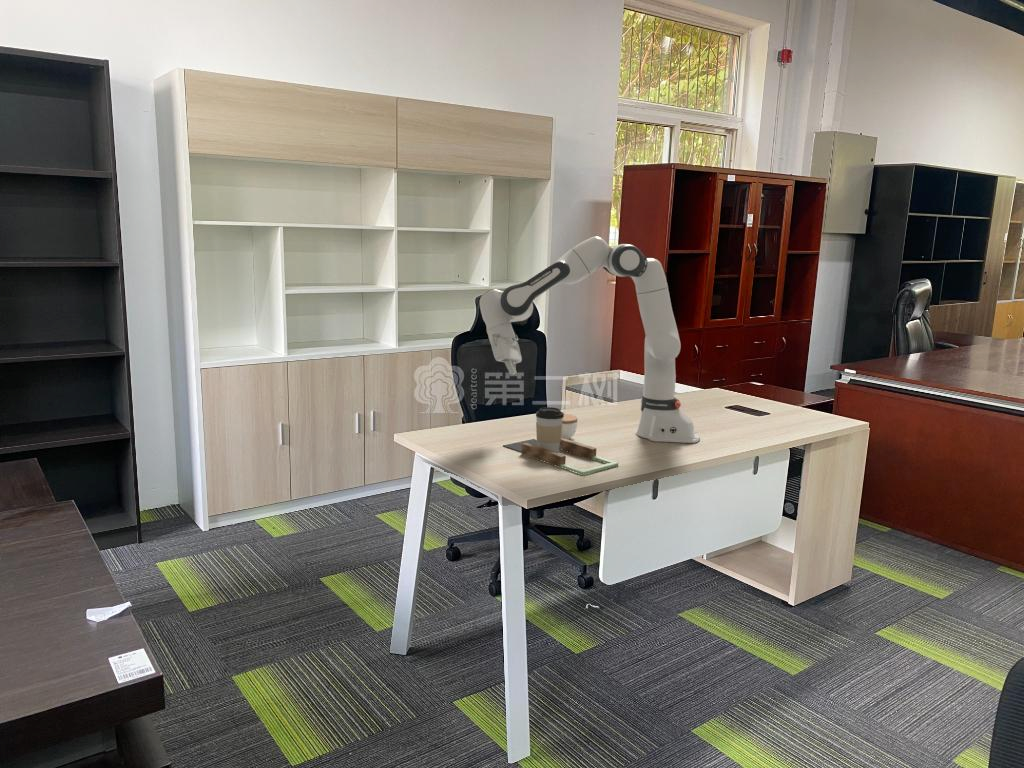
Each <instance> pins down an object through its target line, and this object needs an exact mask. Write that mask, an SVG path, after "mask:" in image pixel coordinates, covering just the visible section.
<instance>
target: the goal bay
mask: <svg viewBox="0 0 1024 768" xmlns="http://www.w3.org/2000/svg"><path fill="white" fill-rule="evenodd" d="M593 459H595V460H594V461H596V460H598V461H597V462H599V461H601V462H600V463H602V462H605V463H608V464H605V463H604V464H601V465H598V466H594V467H590V468H586V469H580V468H577V467H575V466H572V465H568V464H567V463H565V464H561V467H563V468H566V469H568V470H571V471H574V472H577V473H579V474H578V475H580V474H582V475H581V476H585V475H584V474H587V475H589V474H588V473H591V474H593V473H592V472H594V473H597V472H596V471H598V472H600V471H599V470H602V471H604V470H603V469H605V470H607V469H606V468H609V469H611V468H610V467H613V468H615V467H614V466H616V467H619V462H616V461H615V460H611V459H607V458H604V457H601V456H599V455H596V456H593ZM563 468H562V469H563ZM566 469H565V470H566ZM568 470H567V471H568ZM571 471H570V472H571ZM574 472H573V473H574ZM577 473H576V474H577Z"/></svg>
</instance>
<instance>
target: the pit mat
mask: <svg viewBox="0 0 1024 768" xmlns="http://www.w3.org/2000/svg"><path fill="white" fill-rule="evenodd" d="M523 443H529V444H532V445H535V446H537V439H535V438H531V439H527V440H522V441H518V442H514V443H513V442H512V443H508V444H503V445H502V447H504V448H506V449H509V448H510V450H512V449H513V451H515V450H516V452H518V451H519V452H518V453H522V444H523Z"/></svg>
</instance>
